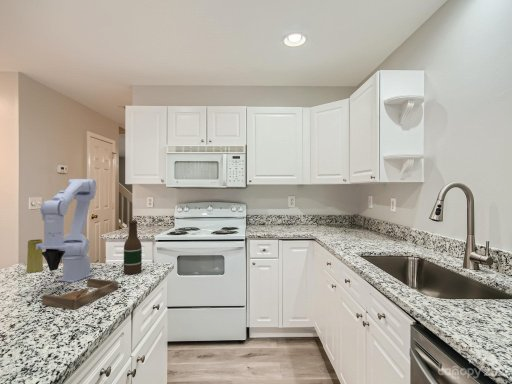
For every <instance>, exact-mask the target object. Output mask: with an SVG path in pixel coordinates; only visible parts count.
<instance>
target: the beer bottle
mask: <svg viewBox="0 0 512 384" xmlns="http://www.w3.org/2000/svg"><path fill="white" fill-rule="evenodd" d="M128 225H129V226H128V236H127V238H126V241H125V242H124V244H123V274H124V275H127V276H133V275H138V274H140V273H142V265H143V264H142V263H143V262H142V259H143V257H142V256H143V255H142V253H143V252H142V250H143V249H142V247H143V246H142V243H141V241H140V239H139V235H138V226H137V225H138V221H137V220H136V219H135V220H129V221H128Z"/></svg>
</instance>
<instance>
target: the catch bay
mask: <svg viewBox="0 0 512 384" xmlns="http://www.w3.org/2000/svg"><path fill="white" fill-rule="evenodd" d="M86 287H87V288H94V289H95V290H93V291H91V292H87V293H86V294H85V295H83V296H81V297H78V298H76V299H74V298H67V297H59V296H60V295H52V294H51V295H50V294H43V295H41V304H42V305H43V306H47V307H54V308H61V309H67V310H78V309H80V308H82V307H84V306H86V305H89V304H91V303H92V302H95V301H96V300H99V299H101V298H103V297H105V296H107V295H109V294H111V293H113V292H115V291H117V290H119V281H117V280H109V279H108V280H107V279H101V278H99V279H97V278H91V277H90V278H86Z"/></svg>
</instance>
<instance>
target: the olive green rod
mask: <svg viewBox="0 0 512 384" xmlns="http://www.w3.org/2000/svg"><path fill="white" fill-rule="evenodd" d="M40 243H43V239H42V238H41V239H40V238H38V239H29V240H27V257H26V258H27V259H26V269H25V270H26V271H25V272H26V273H27V274H31V273H38V272H42V271H44V263H43V259H44V256H43V255H42V252H43V249H36V244H40Z"/></svg>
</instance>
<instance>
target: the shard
mask: <svg viewBox="0 0 512 384" xmlns="http://www.w3.org/2000/svg"><path fill="white" fill-rule="evenodd" d="M89 289H90V287H87V288H84V289H80V290H75V291H72V292H68V293H65V294H61V295H58V296H59V297H67V298H74V299H76V298H78V297H81V296H83V295H85V294H88V293H89Z"/></svg>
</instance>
